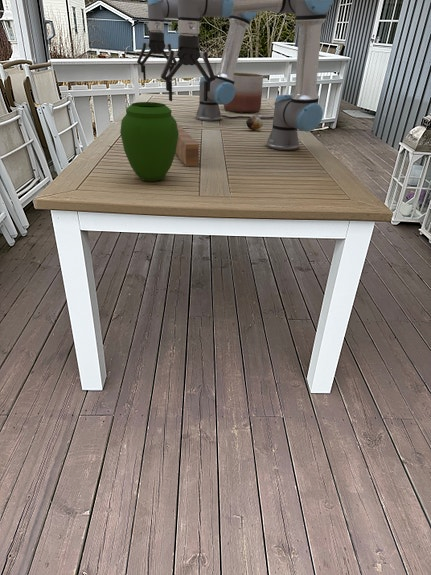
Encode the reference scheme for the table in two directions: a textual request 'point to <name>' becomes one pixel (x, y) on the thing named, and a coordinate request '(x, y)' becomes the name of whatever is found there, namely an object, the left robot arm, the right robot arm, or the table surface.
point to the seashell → (254, 123)
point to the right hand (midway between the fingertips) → (188, 100)
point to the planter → (246, 93)
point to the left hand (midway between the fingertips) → (157, 80)
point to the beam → (187, 148)
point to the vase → (149, 139)
